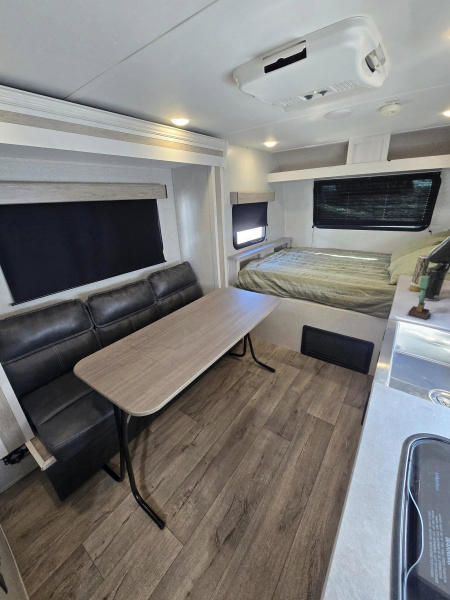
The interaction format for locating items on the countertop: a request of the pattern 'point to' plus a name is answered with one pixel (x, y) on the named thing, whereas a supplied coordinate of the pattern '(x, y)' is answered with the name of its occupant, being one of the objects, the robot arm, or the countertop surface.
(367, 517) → the countertop surface
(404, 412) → the countertop surface
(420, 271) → the bark textured cylinder
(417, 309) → the brush stand
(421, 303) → the brush
